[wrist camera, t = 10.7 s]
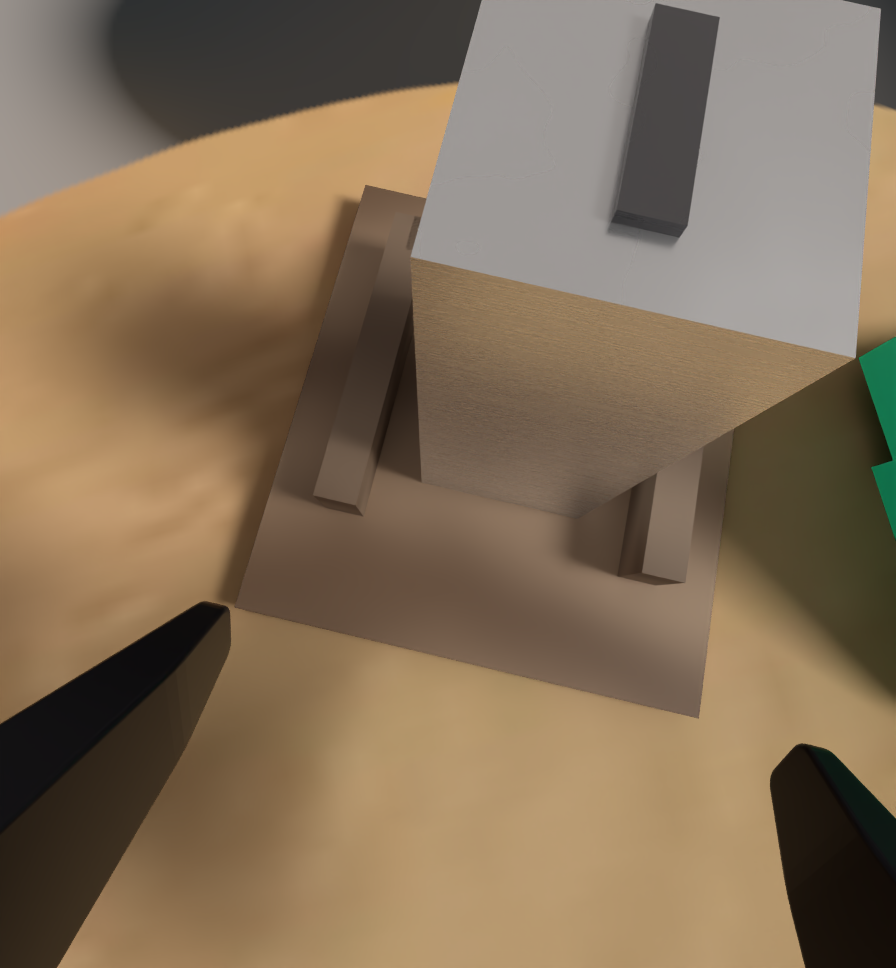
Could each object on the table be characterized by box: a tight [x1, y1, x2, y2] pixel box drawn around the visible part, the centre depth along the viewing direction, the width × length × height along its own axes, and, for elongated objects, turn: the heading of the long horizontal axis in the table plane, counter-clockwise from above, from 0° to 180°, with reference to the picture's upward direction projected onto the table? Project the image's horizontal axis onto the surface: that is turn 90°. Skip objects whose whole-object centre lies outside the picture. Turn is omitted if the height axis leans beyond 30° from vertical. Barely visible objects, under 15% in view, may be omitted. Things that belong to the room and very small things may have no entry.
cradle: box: [235, 185, 734, 718], centre depth 17 cm, size 15×14×3 cm
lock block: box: [411, 0, 881, 519], centre depth 12 cm, size 5×5×12 cm
